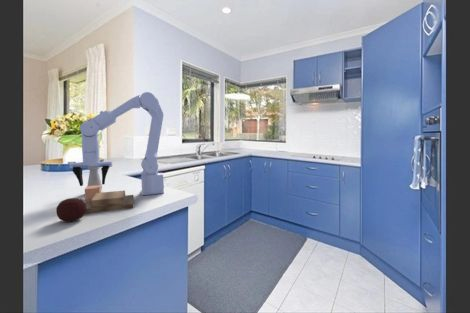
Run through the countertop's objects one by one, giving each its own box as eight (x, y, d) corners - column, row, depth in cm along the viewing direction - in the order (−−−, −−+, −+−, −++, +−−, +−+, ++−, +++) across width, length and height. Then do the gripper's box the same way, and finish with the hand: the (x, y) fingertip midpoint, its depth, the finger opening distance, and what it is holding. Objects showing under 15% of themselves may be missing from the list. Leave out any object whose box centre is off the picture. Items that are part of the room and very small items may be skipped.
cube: (101, 196, 95) (100, 185, 95) (99, 199, 91) (99, 187, 90) (87, 197, 93) (87, 186, 93) (85, 201, 89) (84, 189, 88)
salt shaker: (95, 194, 97) (93, 165, 96) (84, 194, 98) (82, 165, 97) (105, 191, 103) (103, 163, 101) (94, 190, 104) (93, 163, 103)
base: (133, 198, 93) (133, 188, 92) (133, 208, 81) (132, 197, 81) (88, 202, 86) (87, 192, 86) (80, 214, 75) (80, 202, 74)
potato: (62, 217, 72) (61, 196, 71) (90, 214, 74) (89, 194, 74) (52, 226, 65) (50, 203, 64) (82, 223, 67) (81, 200, 67)
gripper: (112, 150, 96) (113, 181, 98) (71, 151, 90) (73, 184, 92) (110, 151, 90) (112, 184, 91) (66, 152, 84) (69, 188, 85)
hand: (92, 184), depth 91 cm, fingers open, 7 cm apart
